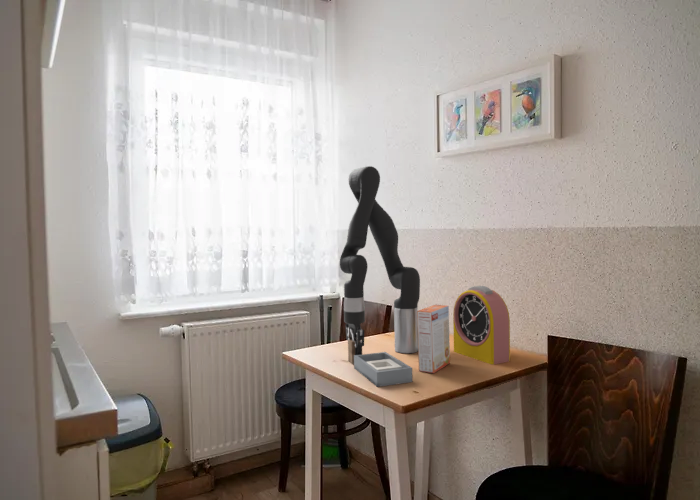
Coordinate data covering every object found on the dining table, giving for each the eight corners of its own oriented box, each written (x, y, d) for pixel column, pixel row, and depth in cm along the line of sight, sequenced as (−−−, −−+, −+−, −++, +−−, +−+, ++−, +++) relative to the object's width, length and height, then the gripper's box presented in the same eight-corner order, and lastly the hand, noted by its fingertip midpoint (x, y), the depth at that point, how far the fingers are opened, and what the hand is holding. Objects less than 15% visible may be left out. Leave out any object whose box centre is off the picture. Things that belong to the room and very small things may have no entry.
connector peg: (358, 360, 174) (358, 338, 174) (362, 363, 170) (362, 341, 170) (348, 361, 173) (348, 339, 172) (352, 364, 169) (351, 342, 169)
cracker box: (435, 361, 170) (434, 304, 170) (450, 363, 167) (449, 305, 166) (417, 371, 159) (416, 309, 158) (433, 374, 156) (432, 311, 155)
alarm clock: (452, 351, 183) (452, 284, 182) (470, 348, 188) (470, 282, 186) (492, 364, 165) (491, 289, 164) (511, 360, 169) (510, 287, 168)
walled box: (385, 364, 168) (385, 351, 168) (412, 381, 148) (412, 367, 148) (354, 368, 164) (353, 355, 164) (377, 386, 144) (376, 372, 144)
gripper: (371, 311, 165) (372, 358, 166) (357, 305, 179) (358, 349, 179) (351, 313, 163) (351, 361, 163) (338, 307, 176) (339, 351, 177)
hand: (355, 354), depth 171 cm, fingers open, 6 cm apart
